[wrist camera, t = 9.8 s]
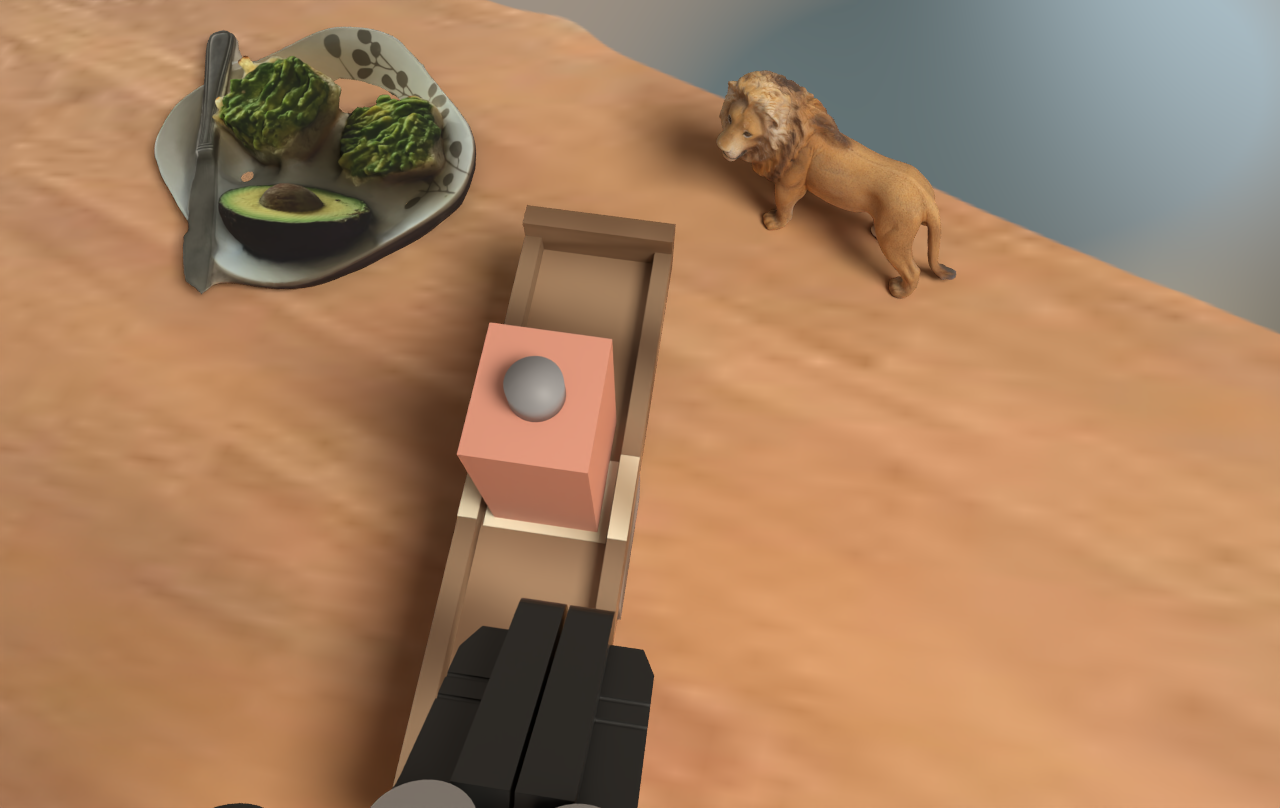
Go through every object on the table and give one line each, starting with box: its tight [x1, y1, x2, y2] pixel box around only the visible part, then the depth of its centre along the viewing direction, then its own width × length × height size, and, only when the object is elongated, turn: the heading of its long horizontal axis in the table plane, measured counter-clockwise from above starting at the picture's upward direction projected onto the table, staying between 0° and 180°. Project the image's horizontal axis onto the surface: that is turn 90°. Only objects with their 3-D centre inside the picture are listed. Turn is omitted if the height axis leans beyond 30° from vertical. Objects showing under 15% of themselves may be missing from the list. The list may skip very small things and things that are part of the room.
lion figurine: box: [717, 71, 956, 298], centre depth 43 cm, size 15×5×9 cm, turn 65°
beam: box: [393, 205, 676, 787], centre depth 36 cm, size 28×7×8 cm, turn 172°
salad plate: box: [155, 27, 476, 294], centre depth 47 cm, size 19×18×5 cm
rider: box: [457, 323, 616, 532], centre depth 31 cm, size 5×4×9 cm
